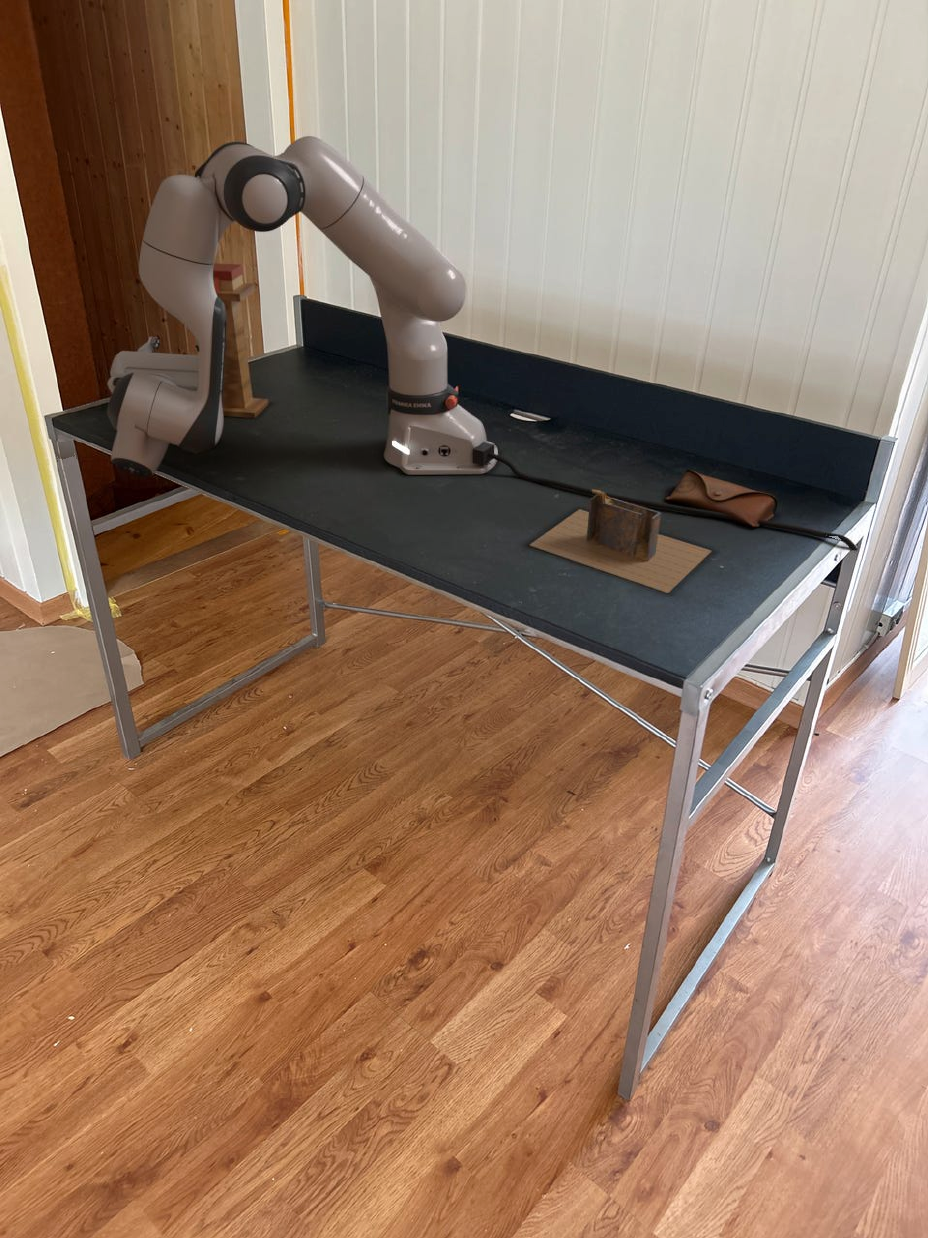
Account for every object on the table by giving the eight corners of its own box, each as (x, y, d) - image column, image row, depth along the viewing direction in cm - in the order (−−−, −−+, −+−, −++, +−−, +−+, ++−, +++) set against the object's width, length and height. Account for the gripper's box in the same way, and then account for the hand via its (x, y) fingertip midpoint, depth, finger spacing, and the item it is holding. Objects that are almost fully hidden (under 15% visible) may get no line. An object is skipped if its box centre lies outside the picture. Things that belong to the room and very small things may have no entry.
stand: (268, 404, 205) (254, 283, 191) (255, 418, 198) (239, 293, 183) (217, 400, 207) (199, 280, 192) (202, 414, 199) (182, 291, 185)
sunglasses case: (662, 498, 165) (675, 463, 164) (675, 505, 171) (688, 470, 170) (757, 528, 156) (772, 490, 155) (767, 534, 162) (781, 497, 161)
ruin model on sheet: (529, 545, 151) (531, 491, 146) (579, 509, 163) (583, 457, 157) (667, 593, 139) (676, 536, 134) (712, 550, 150) (721, 496, 145)
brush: (244, 283, 190) (242, 264, 188) (213, 304, 177) (210, 284, 175) (207, 281, 191) (205, 262, 189) (174, 302, 178) (170, 282, 176)
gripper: (206, 389, 162) (226, 330, 168) (98, 383, 165) (121, 325, 171) (217, 412, 168) (236, 354, 174) (113, 405, 171) (135, 349, 177)
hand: (178, 340), depth 173 cm, fingers open, 8 cm apart
